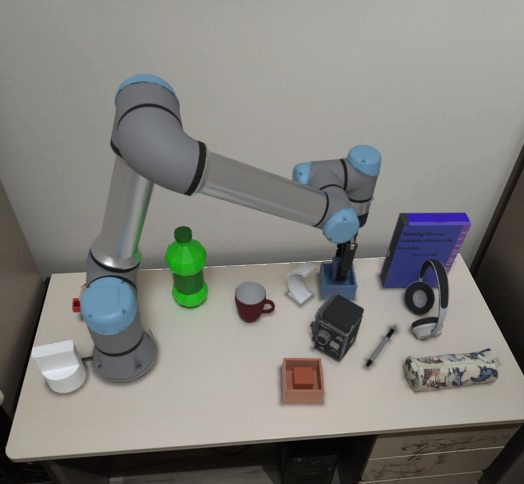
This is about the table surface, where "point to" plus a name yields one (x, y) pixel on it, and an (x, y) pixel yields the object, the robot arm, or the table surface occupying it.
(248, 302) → the mug
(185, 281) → the plastic bottle
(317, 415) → the table surface
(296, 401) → the clay bin
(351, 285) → the blue bin
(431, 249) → the blue book
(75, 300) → the toy fire truck
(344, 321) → the camera
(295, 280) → the headphone stand
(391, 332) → the pen
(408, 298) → the headphones
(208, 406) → the table surface
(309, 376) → the terracotta block
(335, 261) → the blue block
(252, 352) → the table surface
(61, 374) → the base with upright slab
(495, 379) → the pencil case
